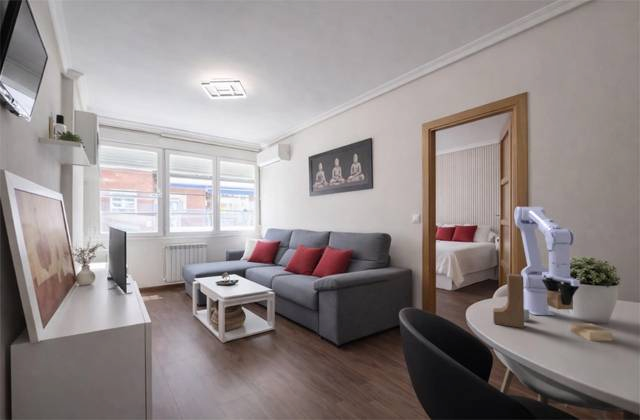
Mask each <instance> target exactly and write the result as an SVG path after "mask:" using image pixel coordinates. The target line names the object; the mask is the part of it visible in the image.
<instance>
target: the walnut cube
mask: <svg viewBox="0 0 640 420" xmlns="http://www.w3.org/2000/svg"><path fill="white" fill-rule="evenodd" d="M547 305H549V307H552V308H553V309H556V310H572V311H573V310H574V297H573V298H572V301H571V304H570V305H563V304H562V300H561V293H560V290H559V291H547Z"/></svg>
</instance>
